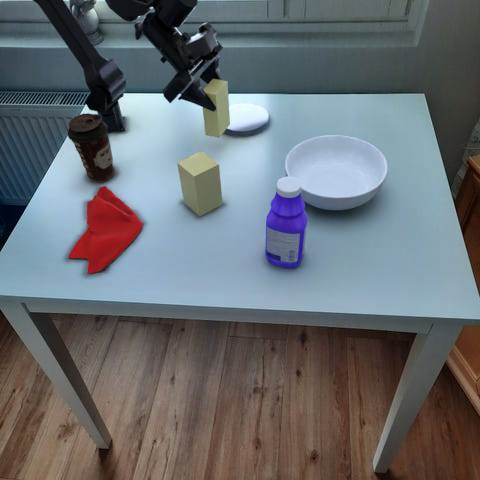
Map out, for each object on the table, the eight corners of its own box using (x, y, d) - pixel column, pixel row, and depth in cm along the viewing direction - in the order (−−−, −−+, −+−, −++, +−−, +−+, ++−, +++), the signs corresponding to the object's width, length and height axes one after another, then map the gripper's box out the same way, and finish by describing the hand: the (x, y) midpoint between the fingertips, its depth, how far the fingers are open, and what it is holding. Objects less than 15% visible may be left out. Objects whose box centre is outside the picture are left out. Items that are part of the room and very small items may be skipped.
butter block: (183, 202, 101) (176, 162, 93) (206, 191, 103) (201, 150, 95) (199, 216, 98) (193, 176, 90) (222, 204, 100) (219, 164, 92)
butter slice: (205, 135, 107) (200, 91, 99) (216, 121, 110) (213, 78, 102) (219, 138, 106) (215, 94, 98) (230, 124, 109) (227, 81, 101)
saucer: (214, 111, 123) (214, 106, 122) (264, 106, 123) (264, 100, 122) (220, 139, 115) (220, 133, 114) (272, 133, 116) (273, 127, 114)
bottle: (306, 252, 91) (314, 176, 77) (299, 273, 87) (305, 198, 74) (270, 245, 92) (271, 169, 78) (262, 265, 89) (261, 190, 75)
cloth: (130, 274, 89) (127, 266, 87) (60, 273, 90) (55, 265, 88) (153, 187, 105) (151, 179, 103) (93, 187, 106) (90, 179, 104)
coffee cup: (125, 164, 111) (110, 111, 100) (116, 186, 106) (100, 133, 95) (89, 163, 111) (71, 110, 101) (78, 185, 106) (58, 132, 96)
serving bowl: (263, 195, 101) (263, 168, 96) (322, 151, 110) (325, 124, 105) (343, 238, 92) (348, 211, 87) (400, 187, 101) (408, 159, 96)
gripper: (166, 34, 86) (225, 103, 91) (210, -4, 96) (261, 60, 101) (138, 71, 94) (194, 132, 100) (182, 33, 104) (230, 90, 110)
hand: (221, 103), depth 102 cm, fingers closed on butter slice, 6 cm apart
